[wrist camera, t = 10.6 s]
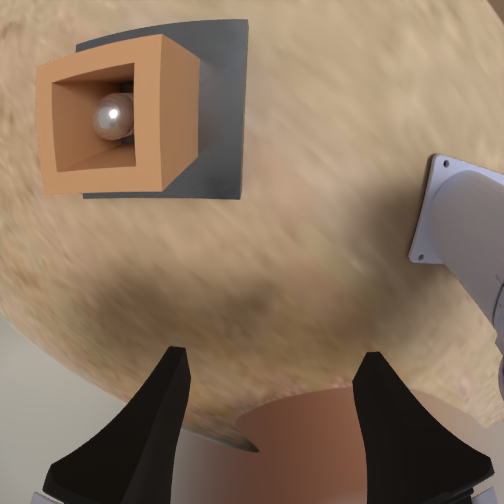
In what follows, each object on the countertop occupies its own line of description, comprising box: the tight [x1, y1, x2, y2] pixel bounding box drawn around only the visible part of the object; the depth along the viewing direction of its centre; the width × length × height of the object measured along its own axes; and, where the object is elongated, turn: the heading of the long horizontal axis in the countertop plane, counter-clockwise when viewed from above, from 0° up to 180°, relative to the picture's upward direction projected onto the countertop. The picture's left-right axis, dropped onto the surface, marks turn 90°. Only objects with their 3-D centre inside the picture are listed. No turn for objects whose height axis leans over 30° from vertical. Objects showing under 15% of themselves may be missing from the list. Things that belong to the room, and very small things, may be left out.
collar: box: [36, 34, 200, 195], centre depth 10 cm, size 5×5×6 cm
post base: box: [76, 19, 249, 200], centre depth 12 cm, size 10×10×6 cm
